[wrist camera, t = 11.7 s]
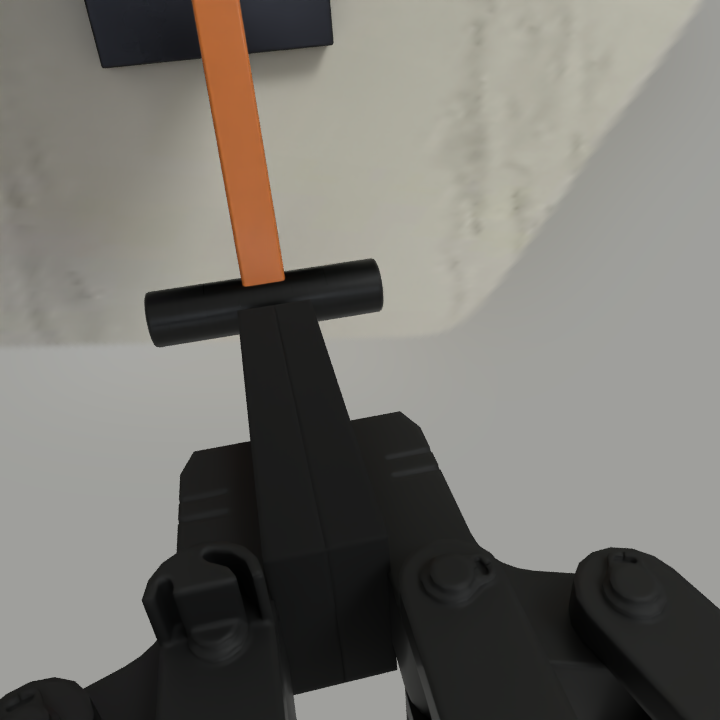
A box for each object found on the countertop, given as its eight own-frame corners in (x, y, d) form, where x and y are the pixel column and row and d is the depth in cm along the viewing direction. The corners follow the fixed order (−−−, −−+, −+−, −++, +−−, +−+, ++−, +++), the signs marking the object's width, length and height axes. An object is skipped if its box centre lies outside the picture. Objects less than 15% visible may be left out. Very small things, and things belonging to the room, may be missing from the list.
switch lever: (372, 306, 18) (390, 315, 16) (162, 340, 18) (149, 355, 15) (301, -214, 16) (310, -293, 13) (49, -204, 15) (13, -286, 13)
